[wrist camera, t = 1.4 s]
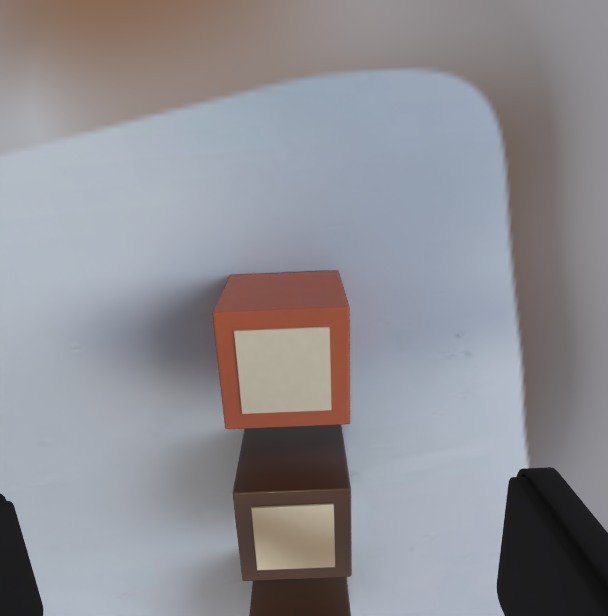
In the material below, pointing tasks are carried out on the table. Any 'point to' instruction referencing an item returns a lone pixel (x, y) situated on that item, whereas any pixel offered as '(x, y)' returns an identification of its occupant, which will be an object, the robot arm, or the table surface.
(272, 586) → the brown wooden cube
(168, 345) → the table surface
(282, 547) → the brown wooden cube
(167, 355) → the table surface
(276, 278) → the orange cube
